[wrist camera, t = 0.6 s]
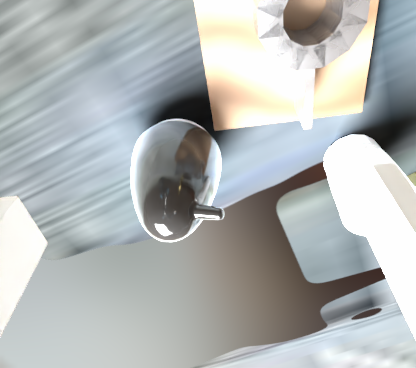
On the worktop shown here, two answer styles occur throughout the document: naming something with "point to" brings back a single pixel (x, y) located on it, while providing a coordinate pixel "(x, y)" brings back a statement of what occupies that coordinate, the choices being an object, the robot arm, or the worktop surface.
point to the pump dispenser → (175, 178)
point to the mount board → (273, 66)
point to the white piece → (309, 42)
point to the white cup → (353, 175)
